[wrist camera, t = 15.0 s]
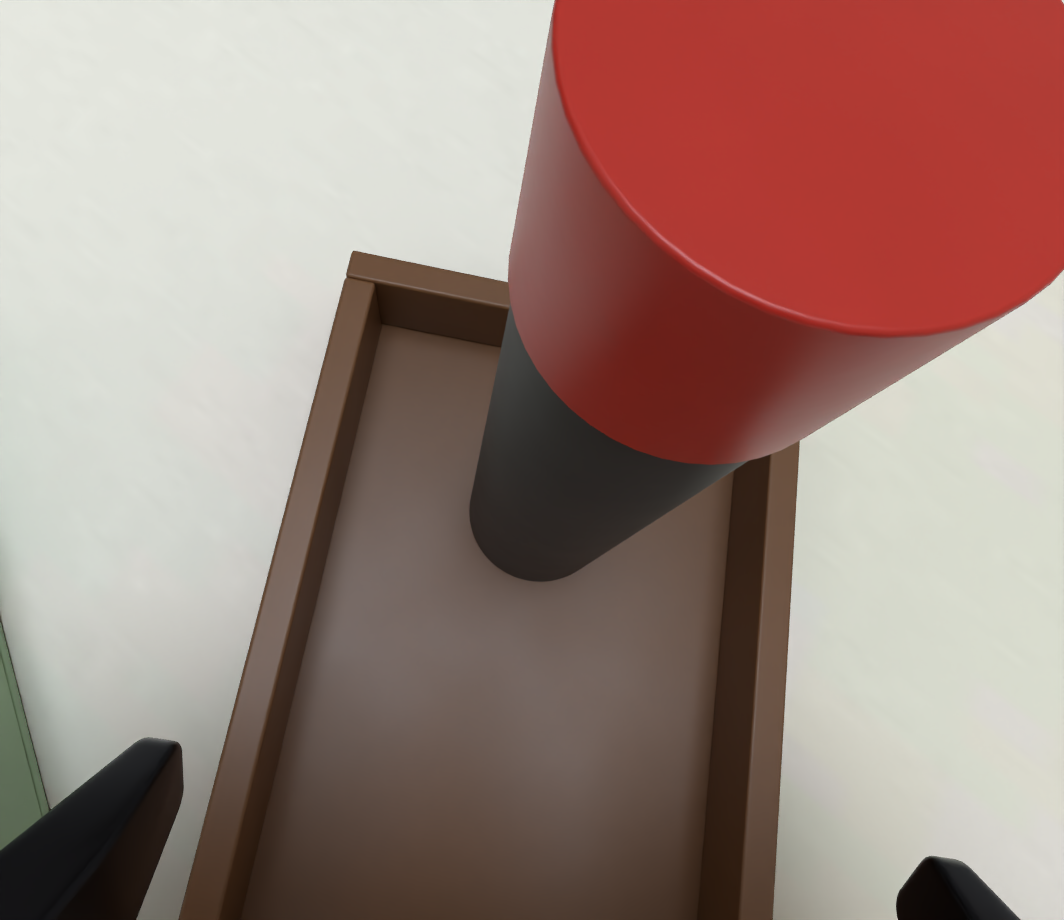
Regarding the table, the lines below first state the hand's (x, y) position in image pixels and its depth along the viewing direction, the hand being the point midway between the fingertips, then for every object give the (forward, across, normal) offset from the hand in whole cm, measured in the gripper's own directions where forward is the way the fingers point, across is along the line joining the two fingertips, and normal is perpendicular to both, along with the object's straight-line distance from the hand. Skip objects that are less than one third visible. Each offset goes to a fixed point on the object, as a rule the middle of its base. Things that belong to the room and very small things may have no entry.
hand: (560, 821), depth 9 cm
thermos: (+10, 0, +2) cm, 10 cm away
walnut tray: (+8, 0, +4) cm, 9 cm away
